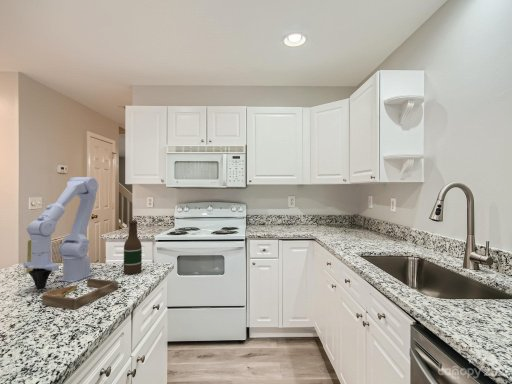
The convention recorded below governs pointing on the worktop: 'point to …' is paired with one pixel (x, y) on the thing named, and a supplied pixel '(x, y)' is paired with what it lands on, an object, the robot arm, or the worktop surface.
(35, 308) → the worktop surface
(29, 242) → the olive green rod
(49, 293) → the shard
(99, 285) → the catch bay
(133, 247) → the beer bottle
